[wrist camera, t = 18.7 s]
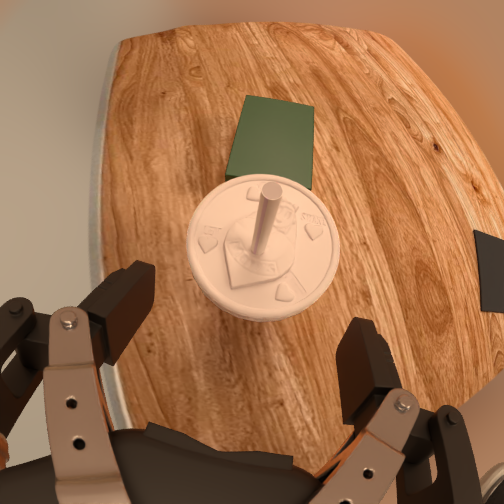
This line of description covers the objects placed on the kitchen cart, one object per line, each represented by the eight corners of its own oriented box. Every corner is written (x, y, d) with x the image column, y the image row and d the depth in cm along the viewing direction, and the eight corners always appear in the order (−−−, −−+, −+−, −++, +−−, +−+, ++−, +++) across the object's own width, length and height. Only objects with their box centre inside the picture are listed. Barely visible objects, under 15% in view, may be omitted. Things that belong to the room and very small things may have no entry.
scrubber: (299, 215, 23) (311, 189, 19) (225, 202, 22) (224, 174, 19) (305, 135, 26) (314, 106, 22) (244, 125, 25) (246, 94, 22)
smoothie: (188, 299, 20) (110, 205, 7) (238, 231, 22) (248, 76, 8) (264, 350, 19) (331, 354, 6) (310, 276, 21) (414, 166, 8)
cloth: (519, 313, 21) (520, 313, 21) (480, 310, 21) (482, 310, 21) (512, 244, 24) (513, 243, 24) (473, 230, 24) (474, 229, 24)
